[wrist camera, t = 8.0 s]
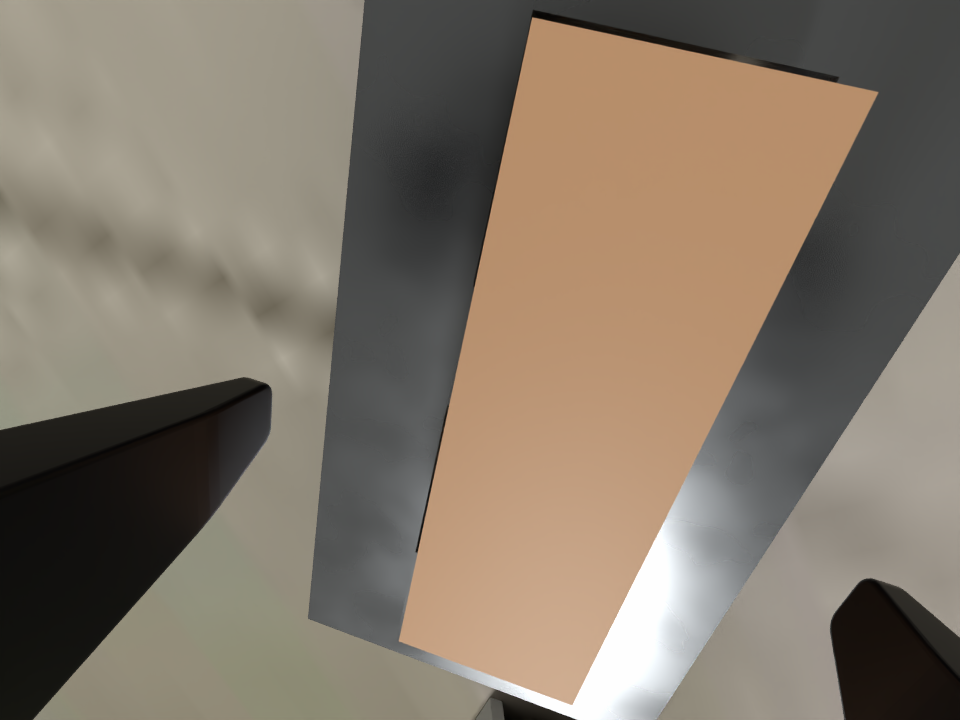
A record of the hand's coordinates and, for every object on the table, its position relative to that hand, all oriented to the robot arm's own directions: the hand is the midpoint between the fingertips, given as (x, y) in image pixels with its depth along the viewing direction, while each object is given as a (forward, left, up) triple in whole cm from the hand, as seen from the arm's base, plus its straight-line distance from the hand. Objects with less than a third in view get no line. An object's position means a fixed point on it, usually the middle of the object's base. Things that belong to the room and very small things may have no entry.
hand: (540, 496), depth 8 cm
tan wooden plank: (0, 0, -7) cm, 7 cm away
